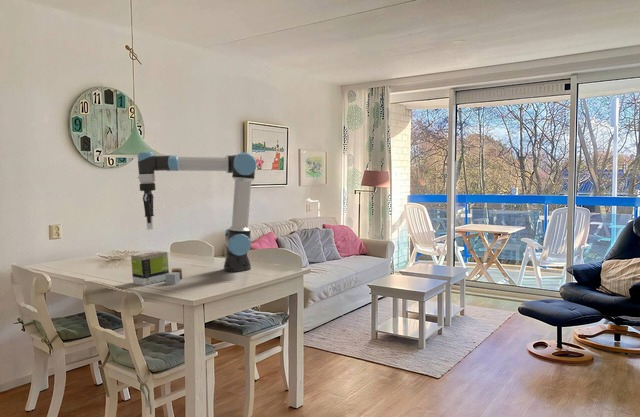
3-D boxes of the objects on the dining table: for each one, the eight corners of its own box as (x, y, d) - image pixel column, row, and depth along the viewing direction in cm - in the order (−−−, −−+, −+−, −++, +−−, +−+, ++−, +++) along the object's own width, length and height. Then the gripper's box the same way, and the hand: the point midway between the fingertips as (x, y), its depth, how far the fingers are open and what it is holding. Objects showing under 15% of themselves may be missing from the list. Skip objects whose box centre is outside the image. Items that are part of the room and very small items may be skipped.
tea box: (158, 277, 257) (157, 250, 256) (169, 280, 251) (168, 251, 250) (132, 283, 246) (130, 254, 245) (143, 286, 239) (141, 256, 238)
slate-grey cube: (179, 282, 246) (179, 272, 245) (175, 284, 241) (174, 274, 240) (170, 282, 246) (170, 272, 246) (165, 284, 242) (165, 274, 241)
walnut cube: (182, 277, 258) (181, 267, 257) (182, 279, 253) (181, 269, 252) (172, 278, 256) (171, 268, 256) (172, 279, 251) (171, 270, 251)
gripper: (142, 182, 252) (145, 228, 254) (136, 183, 239) (139, 231, 241) (157, 182, 253) (160, 227, 255) (152, 182, 240) (155, 230, 242)
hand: (150, 229), depth 248 cm, fingers closed
